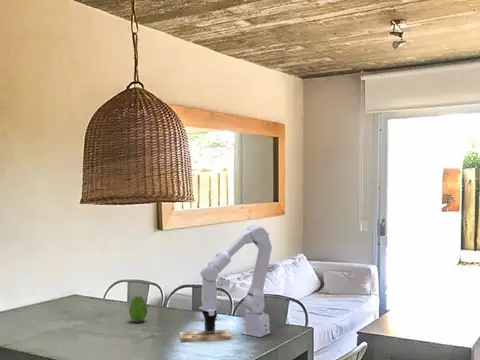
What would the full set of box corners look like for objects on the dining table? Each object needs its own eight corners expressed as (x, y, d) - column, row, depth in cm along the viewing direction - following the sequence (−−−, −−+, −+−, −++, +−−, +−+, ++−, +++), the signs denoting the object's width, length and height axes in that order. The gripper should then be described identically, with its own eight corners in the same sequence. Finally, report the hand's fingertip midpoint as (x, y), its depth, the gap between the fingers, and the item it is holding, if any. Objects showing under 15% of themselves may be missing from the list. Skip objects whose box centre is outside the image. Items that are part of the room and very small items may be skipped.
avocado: (126, 323, 243) (126, 296, 244) (133, 319, 251) (133, 293, 251) (143, 324, 242) (142, 297, 242) (150, 320, 249) (149, 294, 249)
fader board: (228, 333, 225) (228, 329, 225) (231, 339, 215) (231, 335, 215) (179, 335, 222) (179, 331, 222) (180, 342, 212) (180, 338, 212)
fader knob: (214, 331, 221) (214, 321, 221) (215, 333, 218) (215, 322, 218) (204, 332, 220) (204, 322, 220) (205, 333, 217) (205, 323, 218)
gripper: (197, 292, 226) (198, 325, 226) (201, 299, 212) (201, 335, 211) (214, 292, 227) (215, 325, 227) (219, 299, 213) (219, 334, 212)
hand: (209, 329), depth 219 cm, fingers closed on fader knob, 2 cm apart
